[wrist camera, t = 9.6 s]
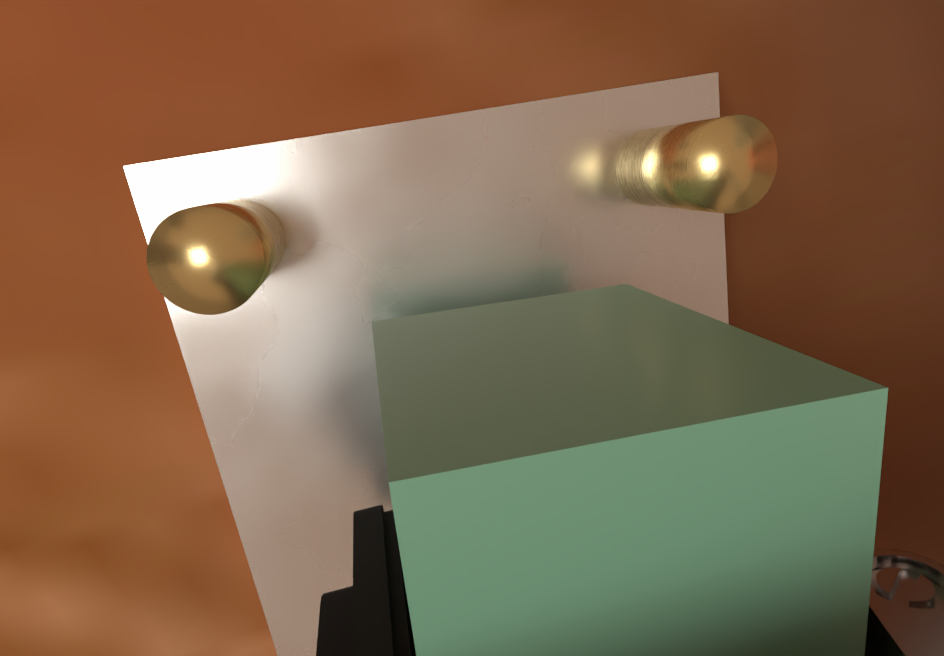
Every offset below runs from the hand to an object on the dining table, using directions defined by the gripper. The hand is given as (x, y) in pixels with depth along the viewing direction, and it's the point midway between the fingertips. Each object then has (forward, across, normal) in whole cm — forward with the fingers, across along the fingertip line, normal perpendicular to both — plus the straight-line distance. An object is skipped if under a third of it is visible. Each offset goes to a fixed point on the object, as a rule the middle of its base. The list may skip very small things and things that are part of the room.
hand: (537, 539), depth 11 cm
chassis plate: (+4, 0, 0) cm, 4 cm away
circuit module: (+1, 0, 0) cm, 1 cm away
